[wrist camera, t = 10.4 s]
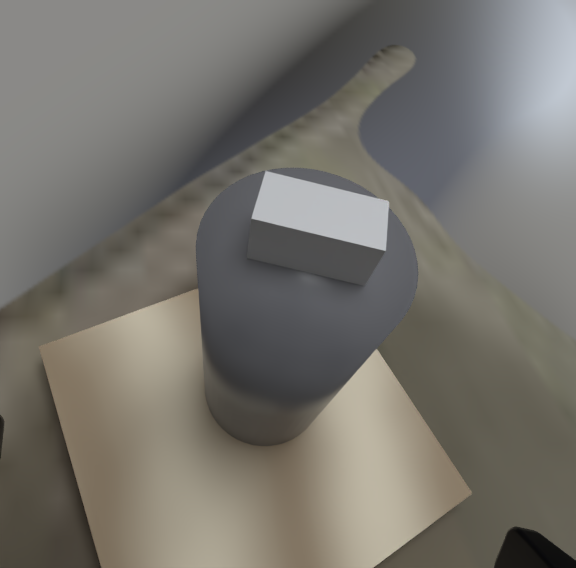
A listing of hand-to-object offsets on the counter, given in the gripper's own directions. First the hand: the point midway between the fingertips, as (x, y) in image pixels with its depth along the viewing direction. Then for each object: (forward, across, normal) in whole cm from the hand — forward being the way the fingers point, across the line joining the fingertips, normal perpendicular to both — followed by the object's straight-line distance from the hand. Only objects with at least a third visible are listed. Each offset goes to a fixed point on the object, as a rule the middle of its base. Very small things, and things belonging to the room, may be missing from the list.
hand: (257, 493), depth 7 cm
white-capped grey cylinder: (+9, 0, +2) cm, 9 cm away
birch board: (+8, 0, +4) cm, 9 cm away
